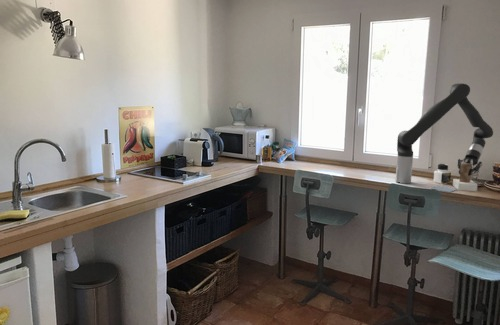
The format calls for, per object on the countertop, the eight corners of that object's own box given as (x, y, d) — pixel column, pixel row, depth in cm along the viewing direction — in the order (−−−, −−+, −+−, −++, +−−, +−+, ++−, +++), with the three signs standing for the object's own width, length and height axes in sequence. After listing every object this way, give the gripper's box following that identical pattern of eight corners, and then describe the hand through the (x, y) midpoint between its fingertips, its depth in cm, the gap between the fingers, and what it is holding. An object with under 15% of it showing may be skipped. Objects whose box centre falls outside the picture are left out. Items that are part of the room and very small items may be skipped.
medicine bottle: (441, 183, 253) (442, 165, 252) (433, 181, 260) (434, 163, 258) (450, 183, 255) (452, 164, 254) (442, 181, 262) (443, 163, 260)
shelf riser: (458, 190, 237) (458, 183, 236) (452, 185, 250) (453, 178, 249) (476, 191, 234) (477, 184, 233) (470, 186, 247) (470, 179, 247)
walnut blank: (459, 181, 242) (461, 163, 240) (462, 180, 244) (464, 162, 243) (467, 182, 238) (469, 164, 236) (470, 181, 241) (472, 163, 239)
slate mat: (428, 188, 239) (429, 188, 239) (438, 186, 247) (438, 185, 247) (449, 192, 230) (449, 191, 230) (458, 189, 238) (458, 188, 238)
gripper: (460, 147, 248) (450, 169, 243) (485, 150, 238) (475, 172, 232) (463, 155, 253) (453, 176, 247) (488, 158, 242) (478, 180, 236)
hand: (464, 174), depth 239 cm, fingers closed on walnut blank, 4 cm apart
